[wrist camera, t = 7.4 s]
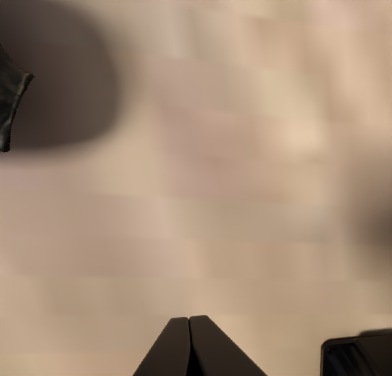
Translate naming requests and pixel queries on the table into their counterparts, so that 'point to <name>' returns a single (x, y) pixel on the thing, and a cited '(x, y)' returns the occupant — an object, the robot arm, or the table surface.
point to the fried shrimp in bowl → (10, 95)
